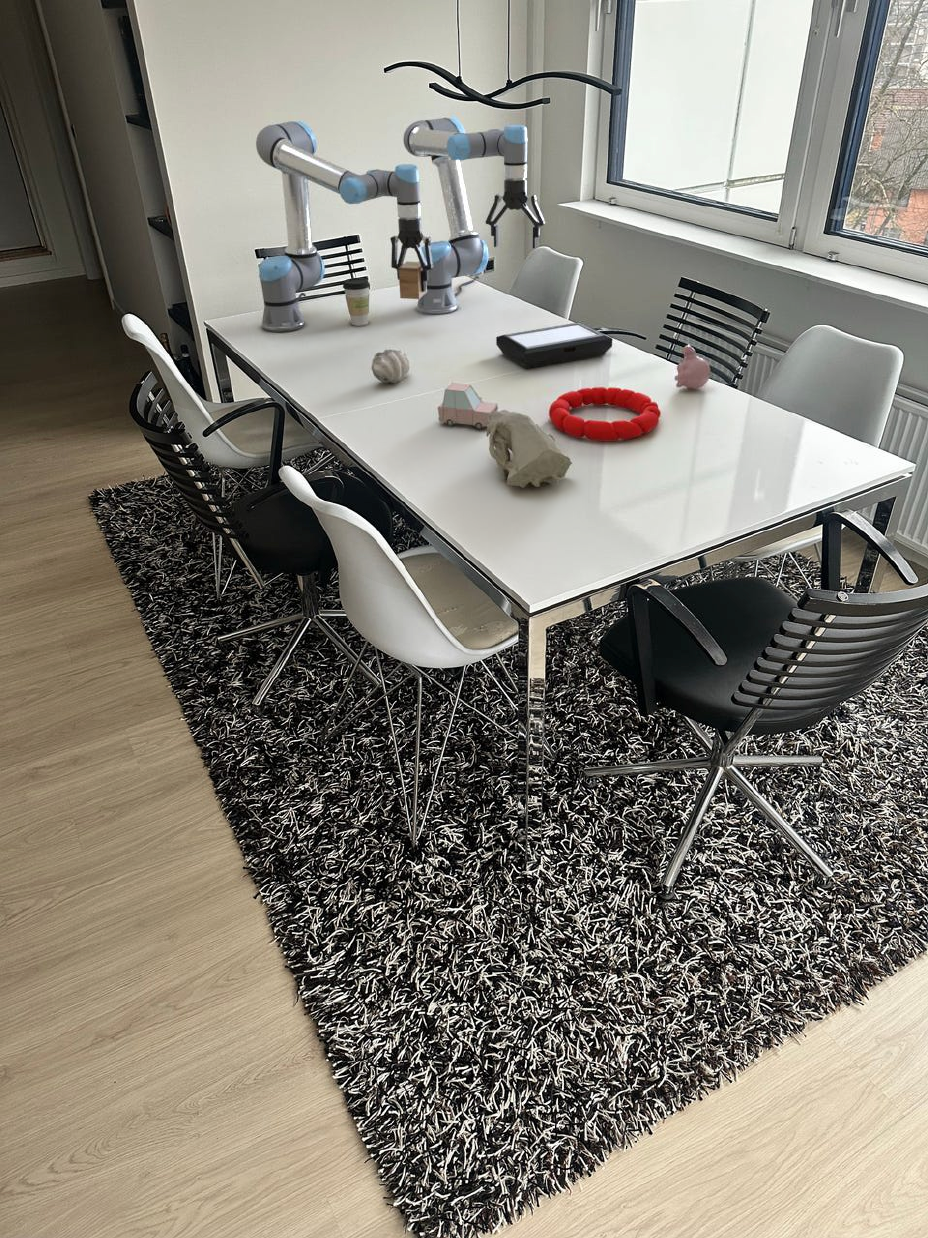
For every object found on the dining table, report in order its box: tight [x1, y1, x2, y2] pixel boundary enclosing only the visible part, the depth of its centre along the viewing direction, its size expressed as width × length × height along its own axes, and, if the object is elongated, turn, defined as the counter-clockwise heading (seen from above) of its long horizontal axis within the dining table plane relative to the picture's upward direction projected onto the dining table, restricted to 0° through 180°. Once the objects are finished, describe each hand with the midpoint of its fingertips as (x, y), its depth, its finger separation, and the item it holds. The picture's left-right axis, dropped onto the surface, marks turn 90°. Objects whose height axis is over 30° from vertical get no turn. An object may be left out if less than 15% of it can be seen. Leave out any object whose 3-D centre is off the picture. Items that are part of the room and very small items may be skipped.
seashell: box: [371, 349, 411, 384], centre depth 271 cm, size 10×15×10 cm
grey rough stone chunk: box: [485, 409, 573, 489], centre depth 216 cm, size 17×25×20 cm
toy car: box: [437, 382, 499, 431], centre depth 243 cm, size 9×15×10 cm, turn 70°
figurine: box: [674, 344, 711, 390], centre depth 259 cm, size 9×11×12 cm
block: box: [398, 261, 427, 300], centre depth 303 cm, size 9×7×10 cm
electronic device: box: [495, 322, 613, 370], centre depth 290 cm, size 32×6×20 cm
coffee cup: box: [342, 277, 371, 327], centre depth 323 cm, size 10×10×15 cm
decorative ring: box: [548, 386, 661, 442], centre depth 242 cm, size 7×30×30 cm
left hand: (413, 289), depth 304 cm, fingers closed on block, 7 cm apart
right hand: (515, 246), depth 306 cm, fingers open, 13 cm apart
